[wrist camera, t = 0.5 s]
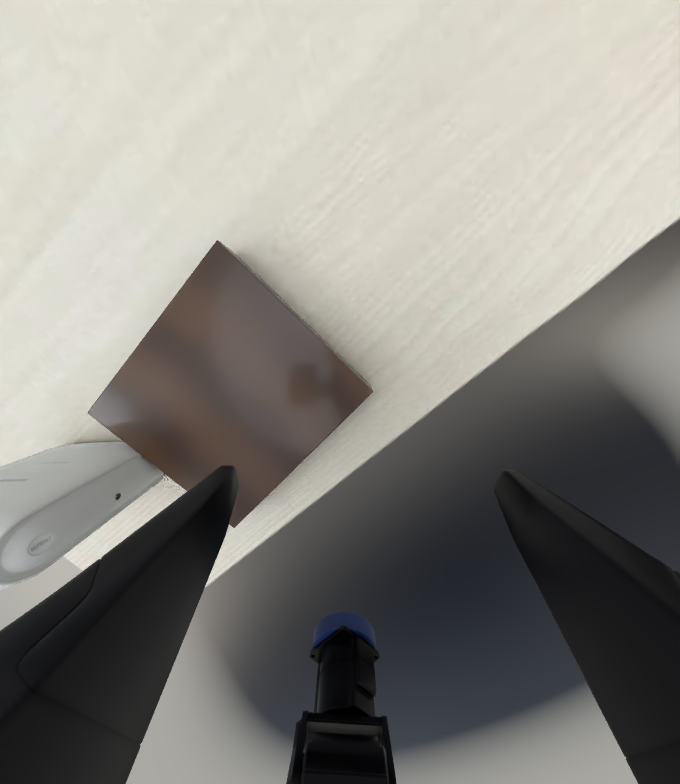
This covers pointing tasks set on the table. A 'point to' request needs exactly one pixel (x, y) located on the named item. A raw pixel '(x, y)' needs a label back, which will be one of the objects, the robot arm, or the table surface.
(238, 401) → the walnut stand
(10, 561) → the photo printer
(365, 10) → the table surface
